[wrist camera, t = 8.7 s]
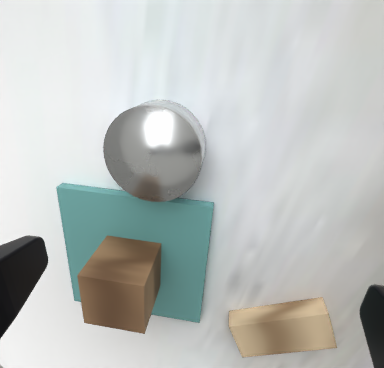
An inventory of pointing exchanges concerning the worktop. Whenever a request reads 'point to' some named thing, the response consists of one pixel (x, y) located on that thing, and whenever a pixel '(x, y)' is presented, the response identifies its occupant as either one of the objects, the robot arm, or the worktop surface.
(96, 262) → the walnut block
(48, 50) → the worktop surface
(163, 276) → the plate
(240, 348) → the beech slab
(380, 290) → the robot arm
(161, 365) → the worktop surface
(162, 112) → the metal tin
